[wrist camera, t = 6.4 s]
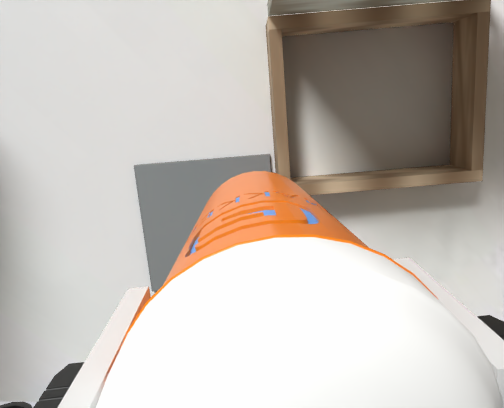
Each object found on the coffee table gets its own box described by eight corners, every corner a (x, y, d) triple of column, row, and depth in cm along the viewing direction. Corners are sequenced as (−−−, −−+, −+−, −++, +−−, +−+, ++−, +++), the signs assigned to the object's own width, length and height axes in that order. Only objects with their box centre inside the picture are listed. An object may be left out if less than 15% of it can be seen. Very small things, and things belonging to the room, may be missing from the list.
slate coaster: (152, 289, 43) (152, 291, 43) (134, 164, 40) (133, 165, 40) (278, 279, 43) (278, 280, 43) (269, 153, 40) (269, 154, 40)
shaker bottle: (352, 257, 26) (680, 688, 7) (226, 315, 27) (199, 860, 7) (294, 128, 24) (525, 223, 5) (159, 194, 25) (-112, 510, 6)
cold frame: (276, 189, 41) (306, 263, 21) (264, 0, 37) (286, -119, 17) (471, 172, 41) (679, 232, 21) (479, -18, 37) (742, -157, 17)
